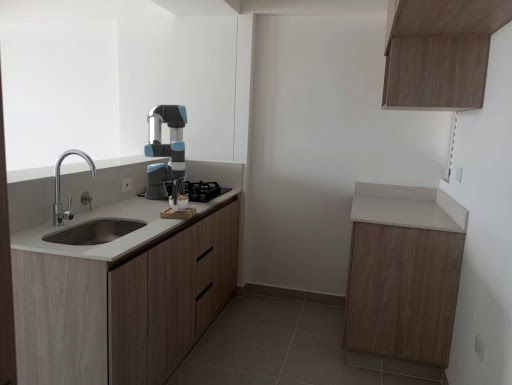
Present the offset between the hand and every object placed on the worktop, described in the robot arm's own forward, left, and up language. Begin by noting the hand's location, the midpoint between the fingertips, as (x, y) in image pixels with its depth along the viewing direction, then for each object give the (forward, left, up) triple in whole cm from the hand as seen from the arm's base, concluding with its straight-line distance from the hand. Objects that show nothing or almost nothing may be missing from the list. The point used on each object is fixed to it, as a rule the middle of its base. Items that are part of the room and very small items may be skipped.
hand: (178, 208), depth 238 cm
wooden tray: (0, 0, -4) cm, 4 cm away
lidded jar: (0, 0, -1) cm, 1 cm away
